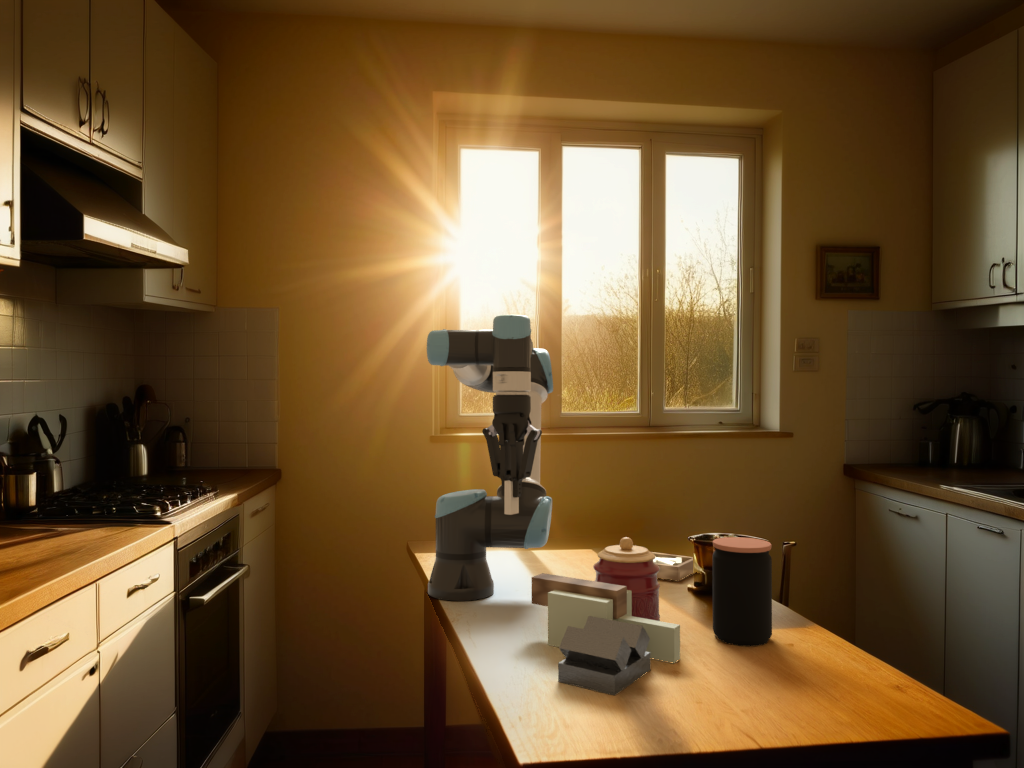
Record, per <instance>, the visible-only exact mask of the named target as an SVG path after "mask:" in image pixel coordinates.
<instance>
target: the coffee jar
mask: <svg viewBox="0 0 1024 768" xmlns="http://www.w3.org/2000/svg"><path fill="white" fill-rule="evenodd" d="M712 546H713V547H714V549H715V550H714V552H713V553H712V632H713V634H714V635H715V636H716V639H718V640H719V641H720V640H721V642H723V643H725V642H726V643H725V644H728V643H730V644H729V645H732V644H733V645H734V646H739V647H740V646H741V647H758V646H764V645H765V644H767V643H768V642H769V641H770V639H771V638H772V635H773V594H772V593H773V584H772V583H773V582H772V580H773V579H772V578H773V574H772V572H773V570H772V569H773V563H772V562H773V561H772V560H773V559H772V556H771V554H770V551H771V549H772V544H771V542H769V541H767V540H763V539H760V538H754V537H744V536H743V537H742V536H741V537H738V536H729V537H728V536H727V537H726V536H725V537H719V538H715V539H713V540H712Z"/></svg>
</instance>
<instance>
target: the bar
mask: <svg viewBox="0 0 1024 768" xmlns="http://www.w3.org/2000/svg"><path fill="white" fill-rule="evenodd" d="M553 590H559V591H565V592H571V593H577V594H583V595H589V596H595V597H601V598H606V599H612V600H613V619H618V618H620V617H622V616H624V615H626V614H627V586H622V585H615V584H609V583H603V582H596V581H595V580H589V579H583V578H576V577H568V576H563V575H558V574H552V573H551V574H550V573H543V572H542V573H540V574H537V575H533V576H531V604H533V605H538V606H543V607H548V592H551V591H553Z"/></svg>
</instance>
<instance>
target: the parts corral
mask: <svg viewBox="0 0 1024 768" xmlns="http://www.w3.org/2000/svg"><path fill="white" fill-rule="evenodd" d="M650 552H651V553H653V554H654V555H655V557H657V558H676V557H681V558H682V563H681V564H679V565H677V566H673V565H666V564H658V563H655V564H656V565H658V566H659V568H660V570H659V572H658V573H657V578H663V579H662V580H664V579H672V580H680V579H682V578H684V577H686V576H687V575H689V574H691V573H693V556H686V555H677V554H672V553H671V554H669V553H663V552H655V551H654V552H653V551H650ZM686 578H687V577H686ZM684 579H685V578H684ZM682 580H683V579H682ZM680 581H681V580H680Z"/></svg>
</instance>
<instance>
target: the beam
mask: <svg viewBox="0 0 1024 768" xmlns="http://www.w3.org/2000/svg"><path fill="white" fill-rule="evenodd" d="M588 616H593V617H598V618H603V619H609V620H614V621H620V622H625V623H630V624H636V625H641V626H643V627H644V629H645V631H646V632H647V634H648V636H649V638H650V640H649V643H648V646H647V649H646V651H647V652H650V658H654V659H659V660H663V661H662V662H664V661H668V662H673V663H675V662H676V661H677V660H679V659H680V660H681V625H680V624H677V623H672V622H666V621H661V620H660V621H656V620H651V619H645V618H639V617H634V616H632V591H630V590H627V614H626V615H624V616H622V617H620V618H618V619H613V600H612V599H606V598H601V597H595V596H589V595H583V594H577V593H571V592H565V591H559V590H553V591H551V592H548V606H547V645H548V646H552V647H557V648H559V646H560V644H561V642H562V639H563V637H564V634H565V632H566V629H567V627H568V626H571V627H576V628H581V629H584V627H585V624H586V621H587V619H588ZM654 659H653V660H654ZM659 660H658V661H659ZM680 660H679V661H680ZM668 662H667V663H668ZM677 662H678V661H677ZM677 662H676V663H677ZM673 663H672V664H673ZM676 663H675V664H676Z"/></svg>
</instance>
